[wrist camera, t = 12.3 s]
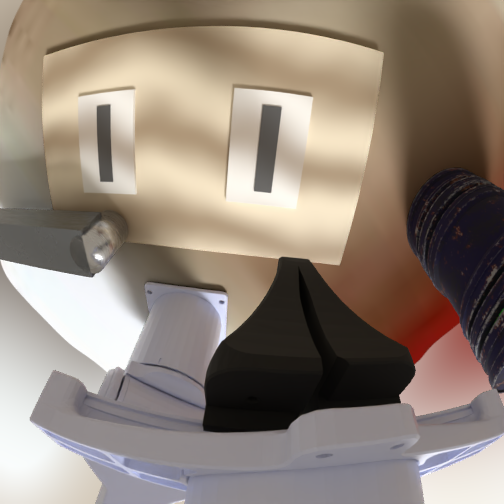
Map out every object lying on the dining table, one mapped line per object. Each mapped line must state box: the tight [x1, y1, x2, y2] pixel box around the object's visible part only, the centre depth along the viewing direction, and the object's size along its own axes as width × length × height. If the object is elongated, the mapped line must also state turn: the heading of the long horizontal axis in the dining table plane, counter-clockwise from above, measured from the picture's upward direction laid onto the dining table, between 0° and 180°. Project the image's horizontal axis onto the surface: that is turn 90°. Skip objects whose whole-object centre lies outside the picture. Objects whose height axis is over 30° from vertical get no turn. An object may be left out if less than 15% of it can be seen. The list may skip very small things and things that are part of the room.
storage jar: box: [407, 168, 504, 393], centre depth 14 cm, size 10×10×15 cm
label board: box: [42, 26, 384, 265], centre depth 18 cm, size 17×26×1 cm, turn 85°
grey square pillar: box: [0, 208, 129, 278], centre depth 19 cm, size 17×4×4 cm, turn 85°
